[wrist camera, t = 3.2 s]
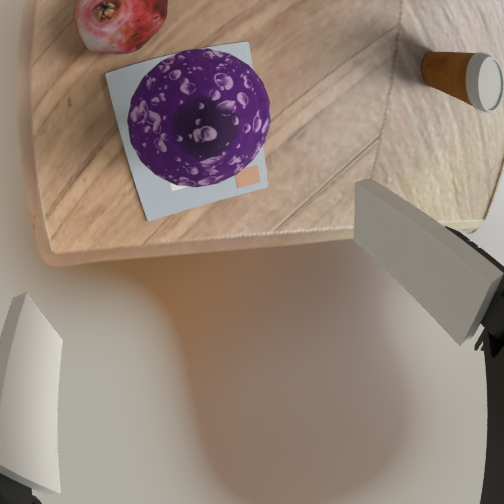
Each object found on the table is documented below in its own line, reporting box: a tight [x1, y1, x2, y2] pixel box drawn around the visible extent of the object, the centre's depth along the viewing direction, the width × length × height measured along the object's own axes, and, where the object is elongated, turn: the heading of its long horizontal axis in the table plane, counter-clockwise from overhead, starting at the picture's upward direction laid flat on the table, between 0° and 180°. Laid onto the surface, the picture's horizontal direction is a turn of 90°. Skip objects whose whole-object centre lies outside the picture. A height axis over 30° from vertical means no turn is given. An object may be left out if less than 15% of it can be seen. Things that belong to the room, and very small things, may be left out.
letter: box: [105, 41, 268, 222], centre depth 33 cm, size 19×16×1 cm
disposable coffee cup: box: [422, 52, 504, 113], centre depth 32 cm, size 10×10×12 cm
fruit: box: [73, 0, 168, 54], centre depth 19 cm, size 9×10×10 cm
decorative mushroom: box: [127, 48, 270, 187], centre depth 25 cm, size 12×12×15 cm
